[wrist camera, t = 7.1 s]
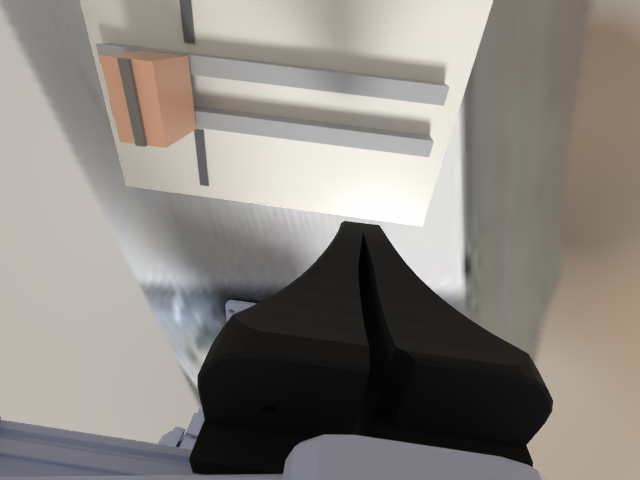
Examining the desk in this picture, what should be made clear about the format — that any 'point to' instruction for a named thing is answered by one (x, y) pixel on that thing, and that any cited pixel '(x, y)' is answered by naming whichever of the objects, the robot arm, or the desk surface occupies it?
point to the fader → (150, 96)
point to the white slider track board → (302, 98)
